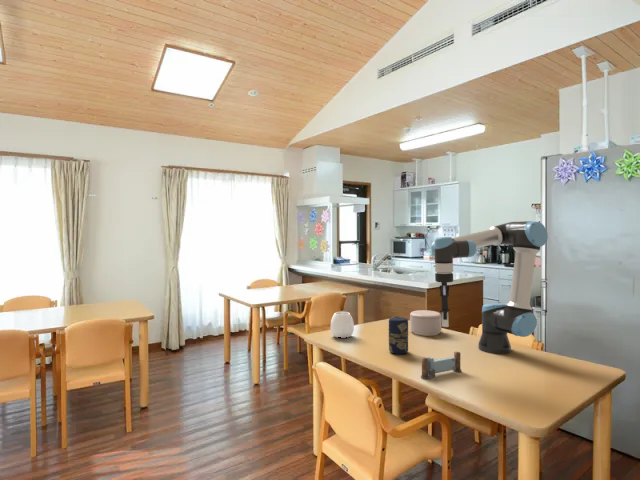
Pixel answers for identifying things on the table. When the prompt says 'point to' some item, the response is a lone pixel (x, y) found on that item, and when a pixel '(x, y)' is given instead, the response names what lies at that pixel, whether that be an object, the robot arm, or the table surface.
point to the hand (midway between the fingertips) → (445, 326)
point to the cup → (342, 324)
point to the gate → (441, 364)
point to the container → (425, 322)
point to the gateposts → (432, 371)
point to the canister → (398, 335)
